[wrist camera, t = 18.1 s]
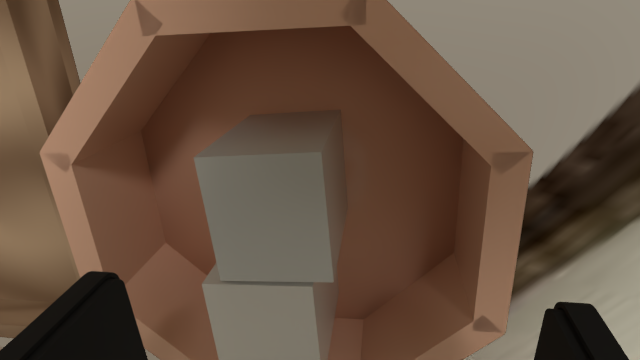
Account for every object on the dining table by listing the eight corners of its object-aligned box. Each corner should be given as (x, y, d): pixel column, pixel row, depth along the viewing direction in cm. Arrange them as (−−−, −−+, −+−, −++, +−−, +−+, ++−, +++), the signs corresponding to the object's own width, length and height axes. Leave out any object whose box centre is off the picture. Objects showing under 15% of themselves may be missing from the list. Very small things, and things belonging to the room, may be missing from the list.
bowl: (102, 7, 16) (-9, 5, 11) (503, -19, 13) (561, -34, 9) (173, 312, 21) (117, 391, 17) (466, 331, 19) (490, 428, 14)
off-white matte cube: (250, 114, 15) (193, 157, 11) (340, 109, 15) (321, 152, 10) (264, 208, 17) (220, 280, 12) (347, 207, 16) (333, 282, 12)
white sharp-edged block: (250, 211, 17) (201, 284, 13) (332, 211, 17) (312, 287, 12) (263, 289, 19) (223, 380, 14) (338, 292, 18) (323, 386, 13)
